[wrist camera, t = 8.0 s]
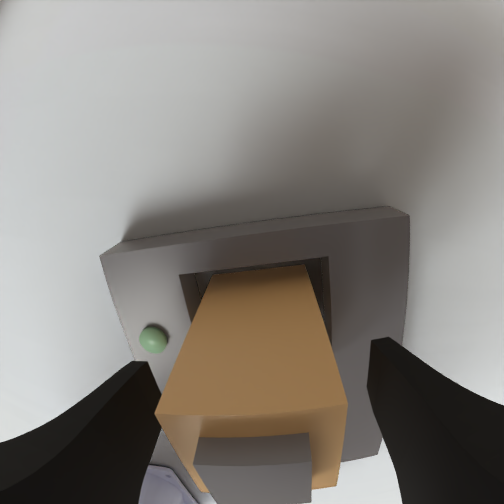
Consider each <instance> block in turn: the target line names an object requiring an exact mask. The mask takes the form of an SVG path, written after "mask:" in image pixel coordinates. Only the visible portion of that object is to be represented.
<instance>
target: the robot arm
mask: <svg viewBox="0 0 504 504" xmlns="http://www.w3.org/2000/svg"><path fill="white" fill-rule="evenodd" d="M366 387H367V391H368V395H369V399H370V403H371V406H372V410H373V413H374V416H375V419H376V421H377V424H378V426H379V429H380V431H381V434H382V436H383V439H384V441H385V444H386V446H387V449H388V452H389V454H390V457H391V459H392V462H393V465H394V468H395V471H396V475H397V479H398V483H399V488H400V493H401V498H402V503H403V504H504V405H501V404H498V403H496V402H493V401H491V400H488V399H486V398H484V397H482V396H480V395H478V394H476V393H474V392H472V391H470V390H468V389H466V388H464V387H462V386H460V385H459V384H457V383H455V382H454V381H452V380H450V379H449V378H447V377H445V376H444V375H442V374H441V373H439V372H438V371H436V370H435V369H433V368H432V367H430V366H429V365H427V364H426V363H425V362H423V361H422V360H420V359H419V358H418V357H416V356H415V355H413V354H412V353H411V352H409V351H408V350H407V349H405V348H404V347H403V346H401V345H400V344H399V343H397V342H396V341H394V340H393V339H392V338H390V337H384V338H379V339H374V340H371V345H370V357H369V368H368V378H367V386H366ZM161 396H162V394H161V392H160V389H159V387H158V385H157V383H156V380H155V378H154V376H153V373H152V371H151V368H150V366H149V363H148V361H131V362H130V363H129V364H127V365H126V366H124V367H123V368H122V369H120V370H119V371H118V372H116V373H115V374H114V375H113V376H111V377H110V378H109V379H108V380H107V381H105V382H104V383H103V384H101V385H100V386H99V387H98V388H96V389H95V390H94V391H93V392H91V393H90V394H89V395H88V396H86V397H85V398H83V399H82V400H81V401H79V402H78V403H77V404H75V405H74V406H72V407H71V408H70V409H68V410H67V411H65V412H64V413H62V414H61V415H59V416H58V417H56V418H54V419H53V420H51V421H49V422H47V423H46V424H44V425H42V426H40V427H38V428H36V429H34V430H32V431H29V432H27V433H25V434H23V435H21V436H18V437H16V438H13V439H10V440H7V441H5V442H1V443H0V504H198V503H197V502H196V501H195V500H194V498H193V497H192V496H191V495H190V493H189V492H188V491H187V489H186V488H185V487H184V485H183V484H182V483H181V481H180V480H179V479H178V477H177V476H176V475H175V473H174V472H173V470H172V469H170V468H167V467H159V466H152V465H149V462H150V459H151V456H152V454H153V451H154V448H155V445H156V442H157V439H158V436H159V433H160V430H161V425H160V423H159V421H158V419H157V418H156V416H155V414H154V413H155V411H156V408H157V406H158V403H159V401H160V398H161Z"/></svg>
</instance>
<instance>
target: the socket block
mask: <svg viewBox="0 0 504 504" xmlns="http://www.w3.org/2000/svg"><path fill="white" fill-rule="evenodd" d="M409 249H410V217H409V215H407V214H405V213H403V212H401V211H399V210H397V209H394V208H392V207H390V206H387V207H377V208H367V209H358V210H348V211H339V212H330V213H322V214H313V215H305V216H297V217H289V218H281V219H273V220H265V221H258V222H250V223H243V224H235V225H228V226H221V227H214V228H207V229H200V230H194V231H187V232H180V233H174V234H167V235H161V236H155V237H148V238H142V239H136V240H130V241H124V242H120V243H118V244H117V245H115V246H114V247H112V248H111V249H109V250H107V251H106V252H104V253H103V254H101V255H100V256H99V257H100V260H101V264H102V267H103V271H104V274H105V278H106V281H107V284H108V287H109V290H110V293H111V297H112V300H113V302H114V305H115V308H116V311H117V314H118V317H119V320H120V322H121V325H122V328H123V330H124V333H125V336H126V338H127V341H128V343H129V346H130V348H131V351H132V353H133V356H134V358H135V361H148V363H149V366H150V368H151V371H152V373H153V376H154V378H155V380H156V383H157V385H158V387H159V389H160V392H161V394H162V393H163V391H164V388H165V386H166V383H167V381H168V378H169V376H170V374H171V371H172V369H173V366H174V364H175V362H176V359H177V357H178V354H179V352H180V350H181V347H182V345H183V342H184V340H185V338H186V335H187V333H188V331H189V328H190V326H191V324H192V321H193V319H194V317H195V314H196V312H197V310H198V307H199V305H200V303H201V299H200V295H199V290H198V286H197V282H196V277H195V273H197V272H206V271H215V270H223V269H231V268H240V267H248V266H256V265H264V264H272V263H280V262H288V261H296V260H304V259H312V258H320V257H321V270H322V286H323V304H324V325H325V328H326V331H327V334H328V337H329V341H330V344H331V347H332V350H333V354H334V357H335V360H336V364H337V367H338V370H339V374H340V377H341V381H342V384H343V388H344V391H345V395H346V398H347V402H348V408H347V417H346V426H345V434H344V442H343V449H342V456H341V462H346V461H351V460H356V459H361V458H365V457H370V456H374V455H378V451H379V448H380V444H381V441H382V437H383V436H382V434H381V431H380V429H379V426H378V424H377V421H376V419H375V416H374V413H373V410H372V406H371V403H370V399H369V395H368V391H367V387H366V386H367V378H368V368H369V357H370V345H371V340H374V339H379V338H384V337H390V338H392V339H393V340H394V341H396V342H397V343H399V344H400V345H401V346H402V339H403V332H404V323H405V314H406V304H407V291H408V276H409Z"/></svg>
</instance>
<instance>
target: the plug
mask: <svg viewBox="0 0 504 504" xmlns="http://www.w3.org/2000/svg"><path fill="white" fill-rule="evenodd" d="M347 408H348V402H347V398H346V395H345V391H344V388H343V384H342V381H341V377H340V374H339V370H338V367H337V364H336V360H335V357H334V354H333V350H332V347H331V344H330V341H329V337H328V334H327V331H326V328H325V325H324V321H323V318H322V315H321V312H320V309H319V306H318V303H317V300H316V297H315V294H314V291H313V288H312V285H311V282H310V279H309V276H308V273H307V270H306V267H305V264H302V265H294V266H285V267H277V268H268V269H260V270H251V271H242V272H233V273H224V274H215V275H212V278H211V280H210V282H209V284H208V287H207V289H206V291H205V293H204V296H203V298H202V300H201V303H200V305H199V307H198V310H197V312H196V314H195V317H194V319H193V321H192V324H191V326H190V328H189V331H188V333H187V335H186V338H185V340H184V342H183V345H182V347H181V350H180V352H179V354H178V357H177V359H176V362H175V364H174V366H173V369H172V371H171V374H170V376H169V378H168V381H167V383H166V386H165V388H164V391H163V393H162V396H161V398H160V401H159V403H158V406H157V408H156V411H155V413H154V414H155V416H156V418H157V419H158V421H159V423H160V425H161V427H162V429H163V431H164V432H165V434H166V436H167V438H168V440H169V441H170V443H171V445H172V447H173V448H174V450H175V452H176V453H177V455H178V457H179V458H180V460H181V462H182V463H183V465H184V467H185V468H186V470H187V471H188V473H189V474H190V476H191V478H192V479H193V481H194V482H195V484H196V485H197V487H198V488H199V490H200V491H201V492H207V493H210V494H211V495H212V497H213V498H214V500H215V501H216V503H217V504H301V503H310V502H311V490H313V489H320V488H327V487H334V486H336V485H337V480H338V474H339V468H340V462H341V456H342V449H343V442H344V434H345V426H346V417H347Z"/></svg>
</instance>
